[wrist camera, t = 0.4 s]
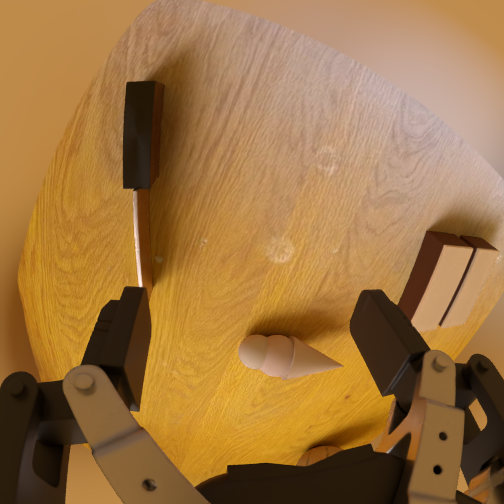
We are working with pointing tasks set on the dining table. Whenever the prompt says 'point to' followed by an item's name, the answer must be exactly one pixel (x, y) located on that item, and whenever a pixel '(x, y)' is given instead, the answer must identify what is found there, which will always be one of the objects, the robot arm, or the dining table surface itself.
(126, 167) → the knife
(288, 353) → the ice cream cone
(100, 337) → the robot arm
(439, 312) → the slotted tan block
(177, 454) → the dining table surface
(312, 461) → the cantaloupe
